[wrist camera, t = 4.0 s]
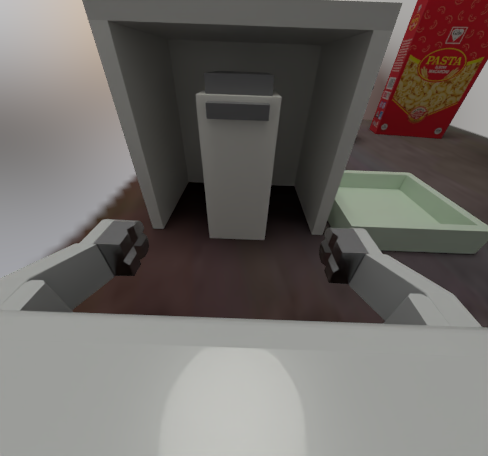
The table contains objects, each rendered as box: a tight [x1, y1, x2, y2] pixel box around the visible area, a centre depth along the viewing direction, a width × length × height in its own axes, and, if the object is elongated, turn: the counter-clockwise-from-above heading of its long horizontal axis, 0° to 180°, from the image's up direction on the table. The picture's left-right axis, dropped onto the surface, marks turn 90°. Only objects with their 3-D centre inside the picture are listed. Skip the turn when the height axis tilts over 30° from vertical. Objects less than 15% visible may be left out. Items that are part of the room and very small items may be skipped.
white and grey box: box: [195, 71, 282, 240], centre depth 17 cm, size 5×8×12 cm, turn 178°
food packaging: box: [370, 0, 488, 139], centre depth 45 cm, size 15×5×25 cm, turn 79°
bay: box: [82, 0, 402, 235], centre depth 19 cm, size 16×11×15 cm
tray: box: [328, 170, 488, 254], centre depth 22 cm, size 12×12×2 cm
